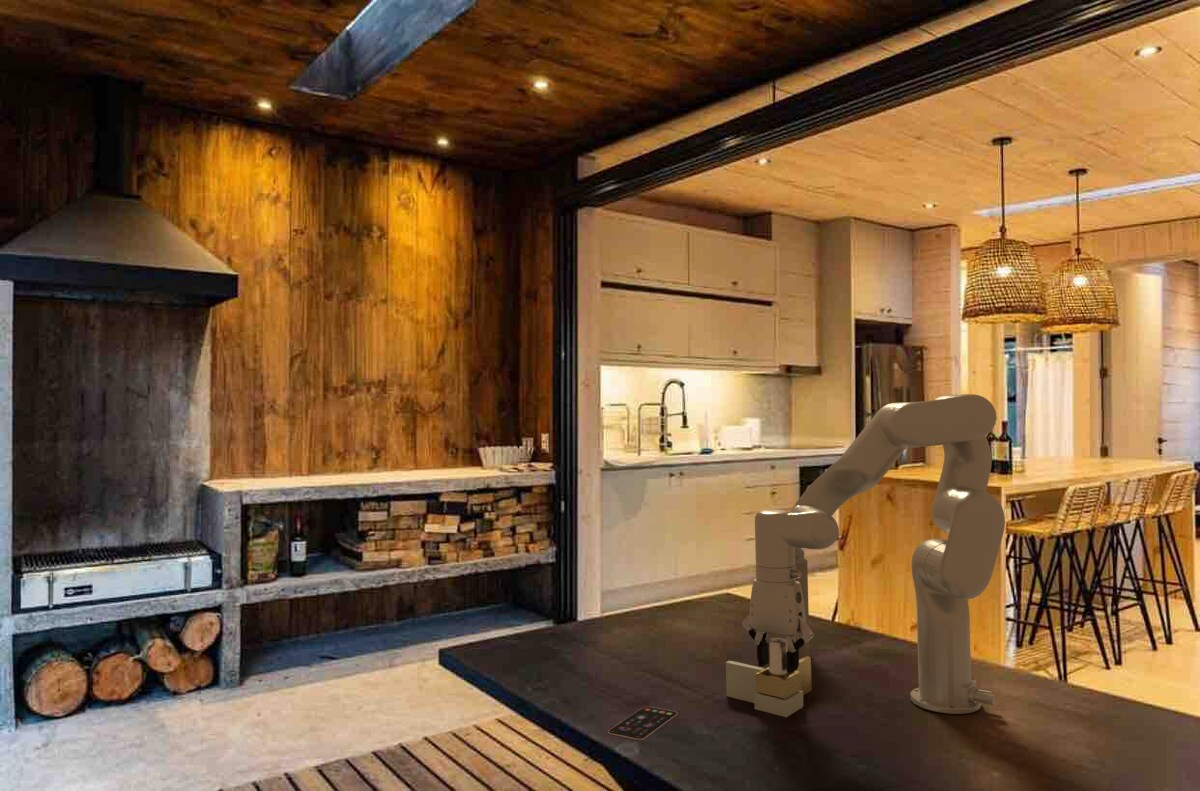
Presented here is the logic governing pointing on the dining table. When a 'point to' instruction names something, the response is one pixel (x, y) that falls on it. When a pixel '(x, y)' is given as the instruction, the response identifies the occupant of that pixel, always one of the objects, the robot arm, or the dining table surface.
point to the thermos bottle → (802, 566)
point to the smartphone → (642, 723)
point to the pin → (777, 658)
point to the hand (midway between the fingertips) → (777, 666)
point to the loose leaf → (744, 688)
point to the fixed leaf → (786, 681)
